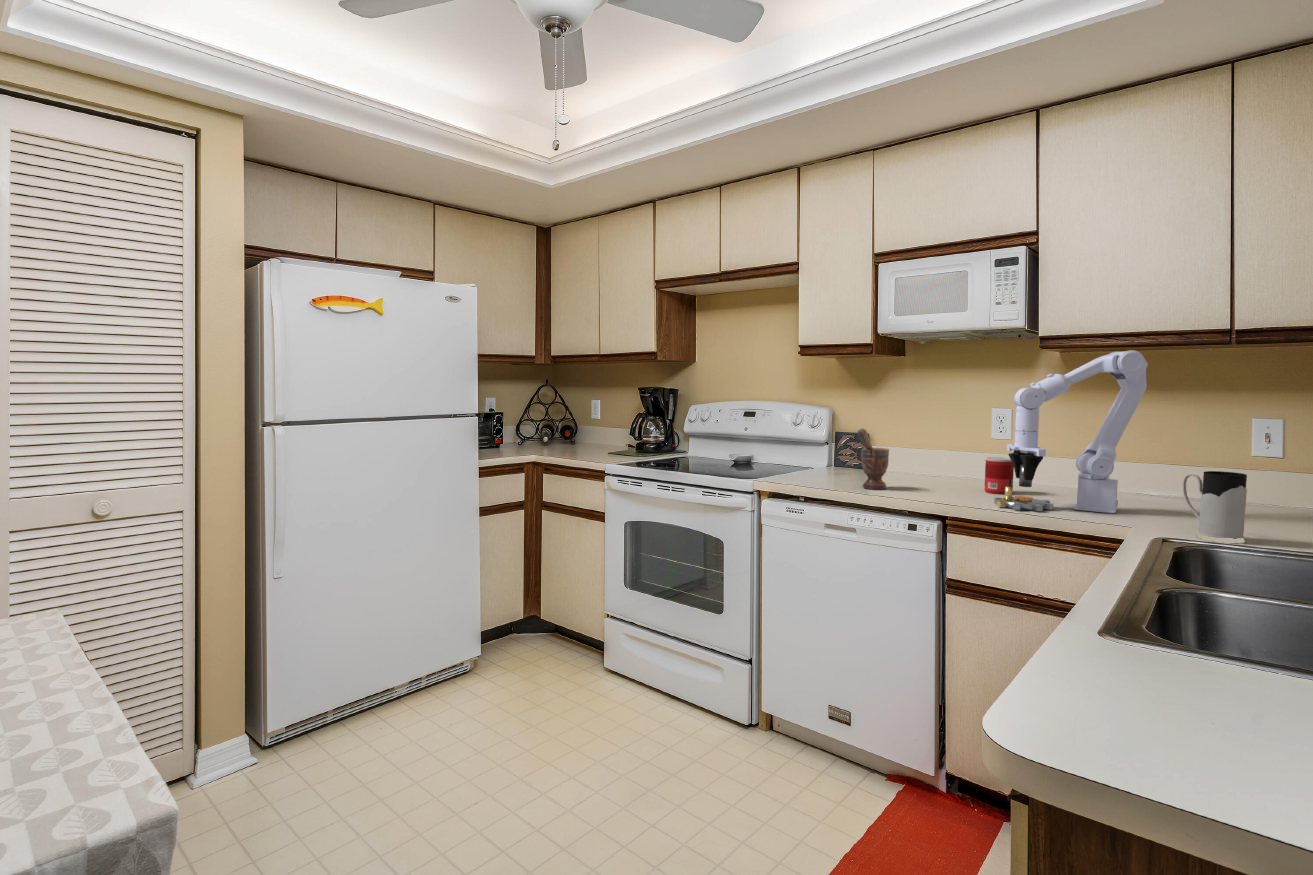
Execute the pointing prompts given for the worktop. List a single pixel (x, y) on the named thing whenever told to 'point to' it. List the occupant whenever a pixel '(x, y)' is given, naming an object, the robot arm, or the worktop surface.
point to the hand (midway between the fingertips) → (1024, 479)
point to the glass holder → (1220, 504)
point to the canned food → (998, 474)
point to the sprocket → (1022, 502)
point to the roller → (1021, 479)
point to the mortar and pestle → (873, 462)
